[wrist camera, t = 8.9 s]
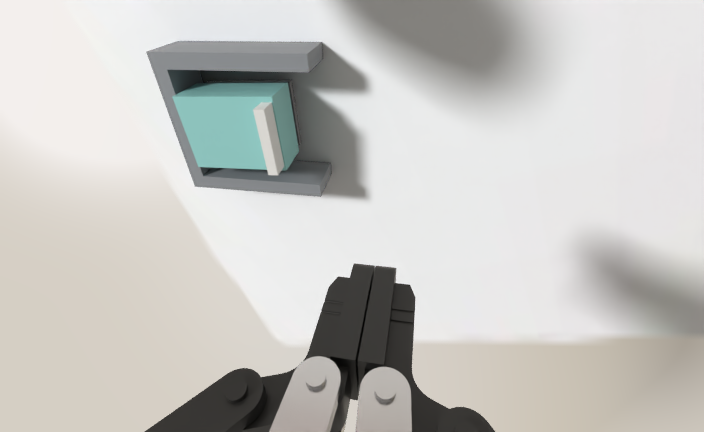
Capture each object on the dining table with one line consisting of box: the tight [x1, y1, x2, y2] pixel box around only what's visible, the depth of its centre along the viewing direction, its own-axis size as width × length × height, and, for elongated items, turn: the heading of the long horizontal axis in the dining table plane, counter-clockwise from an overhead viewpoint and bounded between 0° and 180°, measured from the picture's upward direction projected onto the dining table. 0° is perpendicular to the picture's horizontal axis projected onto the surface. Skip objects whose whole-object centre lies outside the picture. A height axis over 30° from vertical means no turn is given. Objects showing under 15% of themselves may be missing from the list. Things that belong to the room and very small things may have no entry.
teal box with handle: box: [172, 80, 301, 175], centre depth 28 cm, size 8×6×6 cm
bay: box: [147, 41, 331, 197], centre depth 29 cm, size 12×12×4 cm
